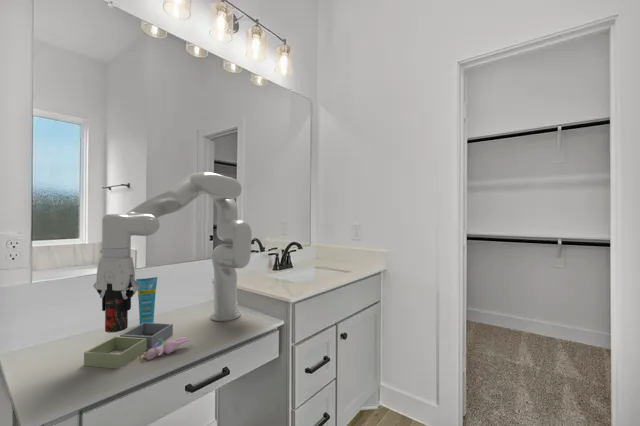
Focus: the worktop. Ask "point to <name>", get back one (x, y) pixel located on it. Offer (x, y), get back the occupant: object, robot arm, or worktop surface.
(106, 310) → the deodorant
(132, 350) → the bin
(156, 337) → the bin
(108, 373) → the worktop surface
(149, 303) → the tube
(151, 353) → the pink toy figurine
